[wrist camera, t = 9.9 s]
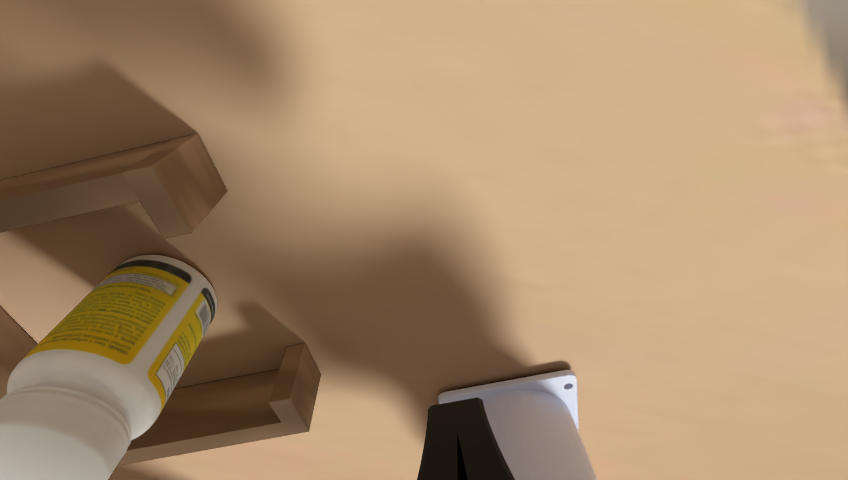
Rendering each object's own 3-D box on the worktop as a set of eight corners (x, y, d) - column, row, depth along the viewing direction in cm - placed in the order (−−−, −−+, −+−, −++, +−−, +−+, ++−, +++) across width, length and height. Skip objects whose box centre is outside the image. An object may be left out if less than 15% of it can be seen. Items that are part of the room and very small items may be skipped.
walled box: (320, 374, 23) (308, 431, 20) (90, 417, 24) (46, 478, 21) (198, 133, 16) (151, 165, 13) (-122, 209, 17) (-234, 256, 14)
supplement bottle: (90, 277, 19) (-97, 447, 12) (168, 235, 18) (17, 393, 11) (167, 342, 22) (49, 520, 14) (240, 308, 21) (153, 479, 13)
